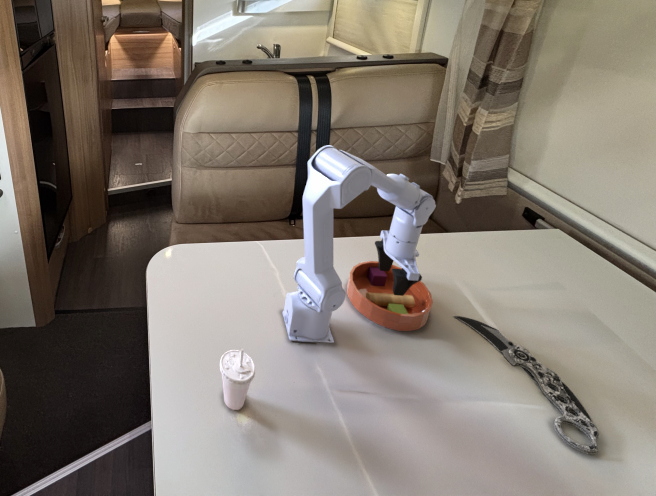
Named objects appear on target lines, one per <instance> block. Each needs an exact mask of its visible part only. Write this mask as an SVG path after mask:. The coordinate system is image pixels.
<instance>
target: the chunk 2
mask: <svg viewBox="0 0 656 496" xmlns="http://www.w3.org/2000/svg"><path fill="white" fill-rule="evenodd" d="M387 310H388V311H392V312H396V313H399V314H408V312H407V310H406V309H405V307H404V305H401V304H388V308H387Z"/></svg>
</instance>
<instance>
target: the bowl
mask: <svg viewBox="0 0 656 496" xmlns="http://www.w3.org/2000/svg"><path fill="white" fill-rule="evenodd" d="M369 267H379V262H378V261H377V260H375V261H374V260H366V261H361V262H358V263H357V264H354V265H353V267H352V268H351V270H350V272H349V274H348V279H347V283H346V294H347V295H346V296H347V297H348V300H349V301H350V303H351V305H352V306H353V307H354V308H355V310H357V312H359V313H360V314H361V315H362V316H364V317H365V318H367V319H368V320H369V321H371V322H372V323H375V324H377V325H379V326H381V327H383V328H385V329H389V330H393V331H400V332H413V331H417V330H420V329H421V328H422V327H424V326H425V325H426V324H427V321H428V319H429V316H430V313H431V309H432V306H433V303H434V300H433V297H432V293H431V292H430V290H429V288H428V287H427V286H426V284H425V283H424V282H422V280H421V281H419V282H417V283H415V284H413V285H412V286H411V287H410V288H409V289H408V290H407V292H406V293H405V294H404V295H412V296H413V298H414V300H415V307H414V308H406V307H405V309H406V310H407V312H408V314H399V313H396V312H392V311H388V310H387V308H388V306H377V305H375V304H374V303H372V302H371V301H369V300H368V299H367V298H366V293H367V292H370V293H386V294H393V284H394V276H393V272H392V269H402V267H401V266H397V265H395V264H392V266H391V269H390V270H389V271H384V272H385V274H386V275H387V279H386V283H385V286H372V285H371V283H370V282H369V280H368V278H367V273H368V269H369Z"/></svg>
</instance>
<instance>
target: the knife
mask: <svg viewBox="0 0 656 496" xmlns="http://www.w3.org/2000/svg"><path fill="white" fill-rule="evenodd" d="M453 317H454V318H456V319H457V320H458V321H461V322H463V323H464V324H466V325H467V326H469V327H470V328H472V329H473V330H474V331H476V332H477V333H478V334H480V335H481V336H482V337H483V338H484V339H486V340H487V341H489V343H491V344H492V346H494V348H495V349H496V350H497V351H498V352H499V353H501V354H502V356H503V357H504V359H506V361H507V362H508V363H509V364H510V365H512V366H513V367H514V366H519V367H522V368H523V369H524V370H525V371H526V373H528V374H529V375H530V377H532V379H533V380H535V382H536V384H538V386H539V388H540V390H541V391H542V393H543V394H544V396H545V397H546V398H547V399H548V400H549V401H550V402H551V403H552V404H553V405H554V406H555V407H556V408H557V409H558V410H559V411H560V413H561V414H562V415H561V416H558V417H556V418H555V420H554V422H553V429H554V430H555V432H556V434H557V435H558V436H559V438H560V439H562V441H563V442H565V443H566V444H567V445H568V446H570V447H571V448H573V449H574V450H576V451H579V452H580V453H584V454H587V455H595V454H597V452H598V444H597V440H598V439H599V436H600V433H599V431H598V428H597V425H596V424H595V423H594V422H593V420H592V418H591V416H590V415H589V413H588V412H587V410H586V408H585V407H584V405H583V404H582V402H580V400H579V399H578V397H577V396H576V395H575V394H574V392H573V391H572V390H571V389H570V388H569V387H568V386H567V384H566V383H564V382H563V381H562V378H561V377H560V375H558V374H557V373H556V372H555V371H553V370H552V369H550V368H548V367H547V366H545V365H544V364H543V363H542V362H540V361H539V360H538V359H536V358H535V357H534V355H533V354H531V352H530V351H529V350H528V349H526V348H525V347H523V346H521V345H520V344H514V343H513V342H512V341H511V340H509V339H508V338H507V337H506V336H505V335H503V333H502V332H501V331H500V330H499V329H497V328H495V327H492V325H488V324H486V323H484V322H482V321H480V320H477V319H474V318H471V317H467V316H460V315H453ZM551 387H552V388H553V389H552V388H551ZM554 389H555V390H554ZM561 400H562V401H563V402H562V401H561ZM562 424H567V425H571V426H573V427H575V428H577V429H579V430H580V431H581V432H582V433H584V435H586V437H587V438H588V439H589V441H590V445H584V444H580V443H579V442H576V441H575V440H573V439H571V438H570V437H569V436H568V435H567V434H566V433H565V432H564V431H563V429H562V427H561V425H562Z"/></svg>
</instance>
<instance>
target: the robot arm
mask: <svg viewBox="0 0 656 496" xmlns="http://www.w3.org/2000/svg"><path fill="white" fill-rule="evenodd" d="M409 180H410V177H408V176H406V175H404V174H402V173H399V174H396V173H388V174H386V173H384V172H383V171H381V170H380V169H379V168H377V167H376V166H374V165H372V164H371V163H369V162H367V161H366V160H364V159H362V158H360V157H358V156H356V155H354V154H352V153H349V152H347V151H344V150H342V149H339V150H338V149H337V147H335V146H333V145H329V144H328V145H323V146H322V147H320V148H318V149H317V150H316V151H315V153H313V155H311V157H310V158H309V159H308V161H307V180H306V185H305V187H304V190H303V195H302V221H303V223H302V224H303V248H304V256H302V257H300V258H299V259H298V260H297V261H296V266H295V270H294V272H293V280H294V281H295V283H296V284H297V286H296V289H297V290H295V291H291V292H287V293H285V300H284V307H283V310H282V316H283V320H284V325H285V328H286V332H287V336H288V339H289V341H291V342H303V343H317V342H318V343H319V342H320V343H330V344H333V343H335V340H334V337H333V334H332V332H331V329H330V324H331V320H332V314H333V312H335V311H337V310H338V309H340V307H341V306H342V305H343V304H344V302H345V300H346V290H345V289H344V288H343V281H342V280H341V277H340V276H339V275H338V273H337V271H336V269H335V267H334V209H338V210H341V209H343V208H344V207H346V206H347V205H348V204H350V203H351V202H352V201H353V200H354V199H356V198H357V197H358V196H359V195H361V194H362V193H364V192H365V191H368V190H369V189H370V188H371V186H372V187H374V188H376V191H377V193H378V195H379V196H380V198H382V199H383V200H384V201H387V202H389V203H390V204H392V205H394V206H395V207H394V212H393V215H392V219H391V223H390V227H389V230H385V229H384V230H380V234H379V237H380V239H381V240H375V241H374V245H375V247H376V251H377V252H376V253H377V258H378V259H377V260H378V262H379V270H380V271H389V270H390V269H391V266H392V265H394V262H395V263H396V264H397V265H398V267H400V268H402V269H392V272H393V276H394V284H393V294H394V295H400V296H403V295H404V294H405V293H406V292H407V290H408V289H409V288H410V287H411V286H412V285H413V284H415V283H417V282H419V281H421V282H422V280H423V276H422V275H421V273H420V271H419V269H418V263H417V259H416V258H419V257H420V253H419V251H418V250H417V247H418V243H419V241H420V237H421V233H422V229H423V226H424V225H426V224H427V222H428V221H429V218H430V216H431V215H432V214H433V212H434V211H435V209H436V207H437V204H436V201H435V199H434V196H433V195H431V194H430V193H428V192H427V191H426V190H423V189H421V186H420V185H419V184H417V183H416V182H414V181H413V182H410V181H409Z"/></svg>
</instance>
